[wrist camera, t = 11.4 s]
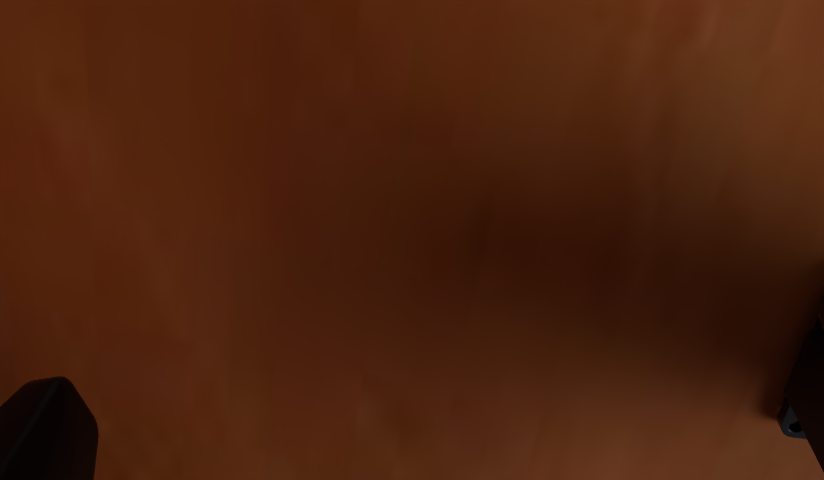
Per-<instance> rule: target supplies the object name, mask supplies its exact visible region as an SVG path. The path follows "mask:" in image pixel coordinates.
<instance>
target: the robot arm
mask: <svg viewBox="0 0 824 480" xmlns="http://www.w3.org/2000/svg"><path fill="white" fill-rule="evenodd" d="M784 394H785V396H786V397H785V400H784V402H783V404H782V407H781V409H780V412H779V414H778V417H777V421H778V424H779V426H780V428H781V430H782V432H783V433H784V434H785V435H786V436H789V437H793V438H802V439H807V440H808V442H809V444H810V446H811V448H812V450H813V452H814V454H815V456H816V458H817V460H818V462H819V464H820V466H821V468H822V470H823V472H824V289H823V292H822V295H821V298H820V302H819V318H818V320H817V322H816V325H815V327H814V328H813V329H812V330H811V331H810V332H809V333H808V334H807V336H806V338H805V341H804V343H803V346H802V348H801V350H800V353H799V355H798V358H797V360H796V363H795V365H794V367H793V370H792V372H791V375H790V377H789V380H788V382H787V384H786V387H785V389H784ZM794 421H798V422H797V423H792V422H794ZM791 423H792V424H791ZM97 446H98V427H97V423H96V420H95V418H94V416H93V414H92V413H91V411H90V410H89V408H88V407H87V405H86V404H85V402H84V401H83V399H82V398H81V396H80V395H79V393H78V392H77V390H76V389H75V387H74V385H73V384H72V383H71V381H70V380H68V379H67V378H65V377H60V376H58V377H51V378H45V379H39V380H33V381H30V382H28V383H26V384H24V385H23V386H22V387H21V388H20V389H19V390H18V391H17V392H16V393H14V394H13V395H12V396H11V397H10V398H9V399H8V400H7V401H6V402H5V403H4V404H3V405H2V406H1V407H0V480H94V472H95V463H96V455H97Z"/></svg>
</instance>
